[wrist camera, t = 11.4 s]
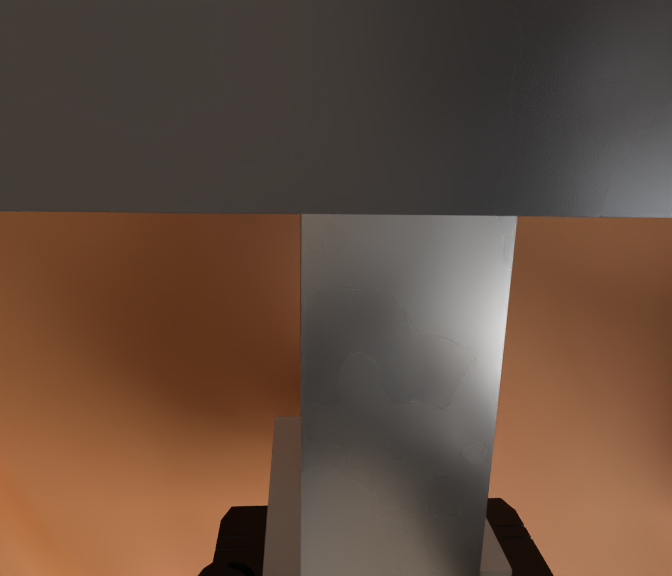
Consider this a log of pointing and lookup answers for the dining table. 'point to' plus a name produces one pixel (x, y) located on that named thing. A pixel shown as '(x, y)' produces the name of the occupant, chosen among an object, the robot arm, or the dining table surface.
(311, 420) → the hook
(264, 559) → the robot arm
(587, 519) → the dining table surface
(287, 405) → the dining table surface
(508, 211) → the dark boxy piece
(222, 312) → the dining table surface
